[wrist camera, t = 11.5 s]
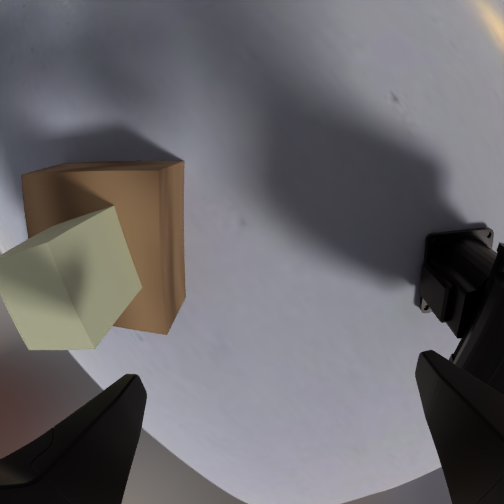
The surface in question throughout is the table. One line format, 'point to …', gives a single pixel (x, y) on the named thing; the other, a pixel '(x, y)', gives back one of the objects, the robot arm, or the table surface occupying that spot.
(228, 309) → the table surface
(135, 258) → the walnut block
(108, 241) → the sage block
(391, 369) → the table surface
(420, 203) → the table surface
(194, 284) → the table surface
